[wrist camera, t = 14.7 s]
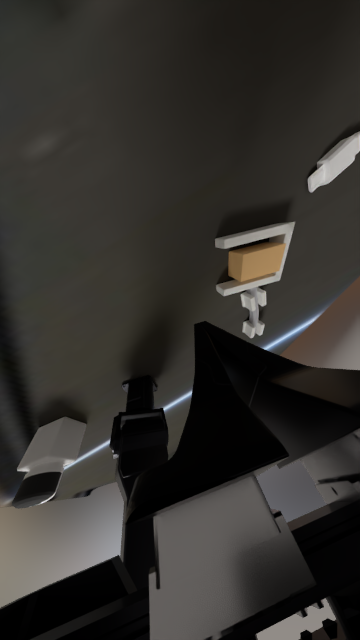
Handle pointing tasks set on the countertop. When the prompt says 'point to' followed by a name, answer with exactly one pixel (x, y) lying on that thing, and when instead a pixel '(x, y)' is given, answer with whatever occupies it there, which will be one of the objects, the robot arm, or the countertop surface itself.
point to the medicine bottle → (48, 460)
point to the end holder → (275, 232)
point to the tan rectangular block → (255, 260)
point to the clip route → (253, 310)
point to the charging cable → (335, 161)
